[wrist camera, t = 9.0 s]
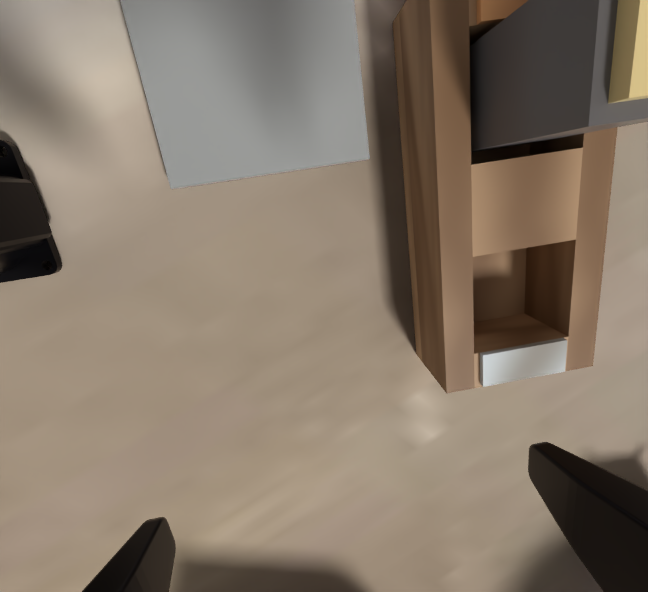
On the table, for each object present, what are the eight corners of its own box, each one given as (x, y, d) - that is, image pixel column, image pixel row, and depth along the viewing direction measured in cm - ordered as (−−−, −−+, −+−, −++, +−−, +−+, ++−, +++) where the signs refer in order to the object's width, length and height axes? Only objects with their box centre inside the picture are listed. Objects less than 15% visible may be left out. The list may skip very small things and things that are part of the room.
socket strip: (416, 354, 22) (449, 396, 18) (392, 22, 17) (431, -39, 12) (539, 331, 23) (603, 367, 18) (555, 1, 17) (651, -67, 13)
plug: (445, 156, 18) (608, 122, 9) (442, 67, 17) (628, -78, 8) (519, 145, 18) (753, 101, 9) (522, 56, 17) (796, -98, 8)
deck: (176, 188, 18) (170, 188, 17) (113, -52, 15) (101, -68, 14) (365, 160, 19) (369, 158, 18) (341, -78, 16) (344, -96, 15)
